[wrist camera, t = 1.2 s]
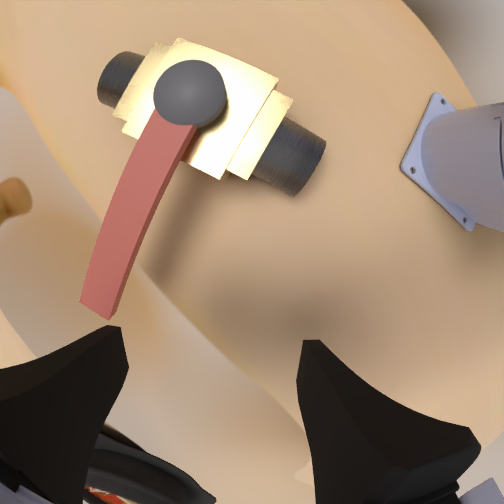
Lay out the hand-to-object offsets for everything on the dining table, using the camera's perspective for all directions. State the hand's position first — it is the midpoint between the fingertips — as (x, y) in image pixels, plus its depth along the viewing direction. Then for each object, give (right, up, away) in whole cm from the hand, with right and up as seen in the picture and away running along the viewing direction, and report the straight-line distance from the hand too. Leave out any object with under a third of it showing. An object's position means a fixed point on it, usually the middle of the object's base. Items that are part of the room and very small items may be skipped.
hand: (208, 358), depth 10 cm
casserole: (-14, -26, +18) cm, 35 cm away
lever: (-4, +7, +3) cm, 8 cm away
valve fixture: (-1, +13, +7) cm, 15 cm away
